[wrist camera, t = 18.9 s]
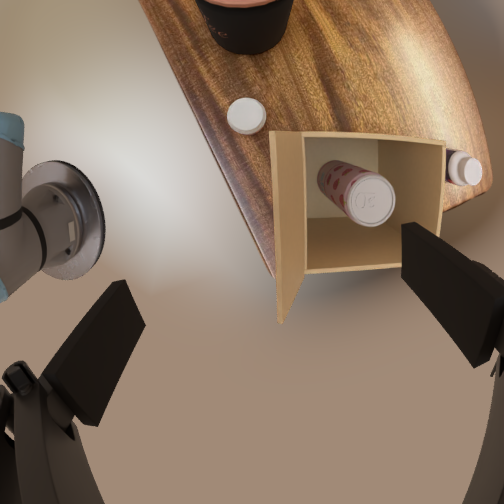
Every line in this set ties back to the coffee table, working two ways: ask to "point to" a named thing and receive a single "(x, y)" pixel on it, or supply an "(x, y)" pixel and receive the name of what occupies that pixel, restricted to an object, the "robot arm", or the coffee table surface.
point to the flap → (287, 216)
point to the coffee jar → (246, 23)
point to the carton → (392, 169)
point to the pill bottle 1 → (246, 116)
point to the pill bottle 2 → (462, 168)
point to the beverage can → (357, 192)
